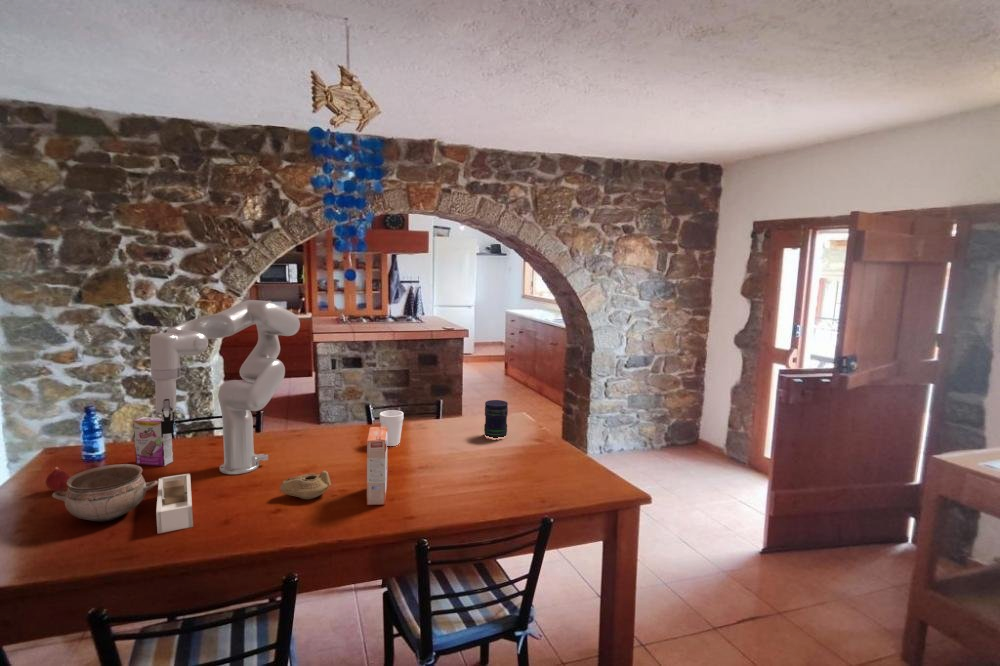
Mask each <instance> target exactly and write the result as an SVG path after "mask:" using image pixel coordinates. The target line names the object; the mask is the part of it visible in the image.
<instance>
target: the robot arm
mask: <svg viewBox="0 0 1000 666" xmlns="http://www.w3.org/2000/svg"><path fill="white" fill-rule="evenodd" d="M253 325H256V330H257V343H256V345H255V346H254V347H253V349H252V351H250V353H249V354H248V356H247V358H246V359H245V360H244V361H243V363H242V364H241V366H240V368H239V376H240V378H242V380H240V379H239V380H238V379H231V380H227V381H225V382H223V383H222V384H221V386H220V387H219V389H218V393H217V395H218V396H217V398H218V403H219V407H220V410H221V417H222V436H223V438H222V439H223V441H222V442H223V462H224V463H222V464H220V466H219V472H221V473H222V474H226V475H241V474H247V473H250V472H253V471H255V470H256V469H258V468H259V467H260V461H269V454H264V453H259V454H258V453H257V454H256V453H255V451H254V450H255V447H254V426H253V424H254V422H253V421H254V420H253V414H252V412H257V411H261V410H262V409H264V408H265V407H266V406H267V404H269V402H270V401H271V399H272V398H273V396H274V395H275V393H276V391H277V390H278V388H279V387H280V386H281V384H282V382H283V380H284V378H285V375H286V367H285V365H284V362H283V361H281V360H280V359H277V358H278V357H279V355H280V352H281V345H280V344H281V343H280V340H279V336H285V337H290V336H294V335H296V334H297V333H298V332H299V331H300V328H301V322H300V318H299V317H298V316H297V315H296V314H295V313H293V312H292V311H290V310H288V309H286V308H285V307H282V306H280V305H278V304H277V303H274V302H272V301H269V300H260V299H259V300H257V299H249V300H247V299H246V300H244V301H242V302H240V303H239V302H238V303H237V304H234V305H233V306H230V307H228V308H227V309H224V310H221V311H220V312H217V313H212V314H209V315H205V316H202V317H199V318H194V319H190V320H187V321H185V322H182V323H180V324H178V325H176V326H174V327H171V328H169V329H168V330H167V331H166V332H157V333H154V334H152V335H151V336H150V338H149V350H150V374H151V375H150V377H151V380H152V381H153V382H154V381H155V386H154V388H155V414H157V415H159V414H160V413H161V418H162V421H161V434H170V433H172V434H174V432H175V428H174V427H175V412H176V405H177V380H179V379H181V356H197V355H200V354H202V353H204V352H205V351H206V350H207V349H208V346H209V340H210V339H222V338H228V337H231V336H233V335H235V334H238V333H239V332H241V331H242V330H245V329H246V328H248V327H251V326H253ZM251 411H252V412H251Z"/></svg>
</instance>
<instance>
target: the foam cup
mask: <svg viewBox="0 0 1000 666" xmlns="http://www.w3.org/2000/svg"><path fill="white" fill-rule="evenodd" d="M379 421H380V427H387V438H388V444H387V446H396V445H398V444H399V443H401V439H402V438H401V437H402V429H403V421H404V412H403V411H401V410H395V409H392V410H389V409H388V410H384V411H381V412H380V413H379ZM399 445H400V444H399ZM396 447H397V446H396Z"/></svg>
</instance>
